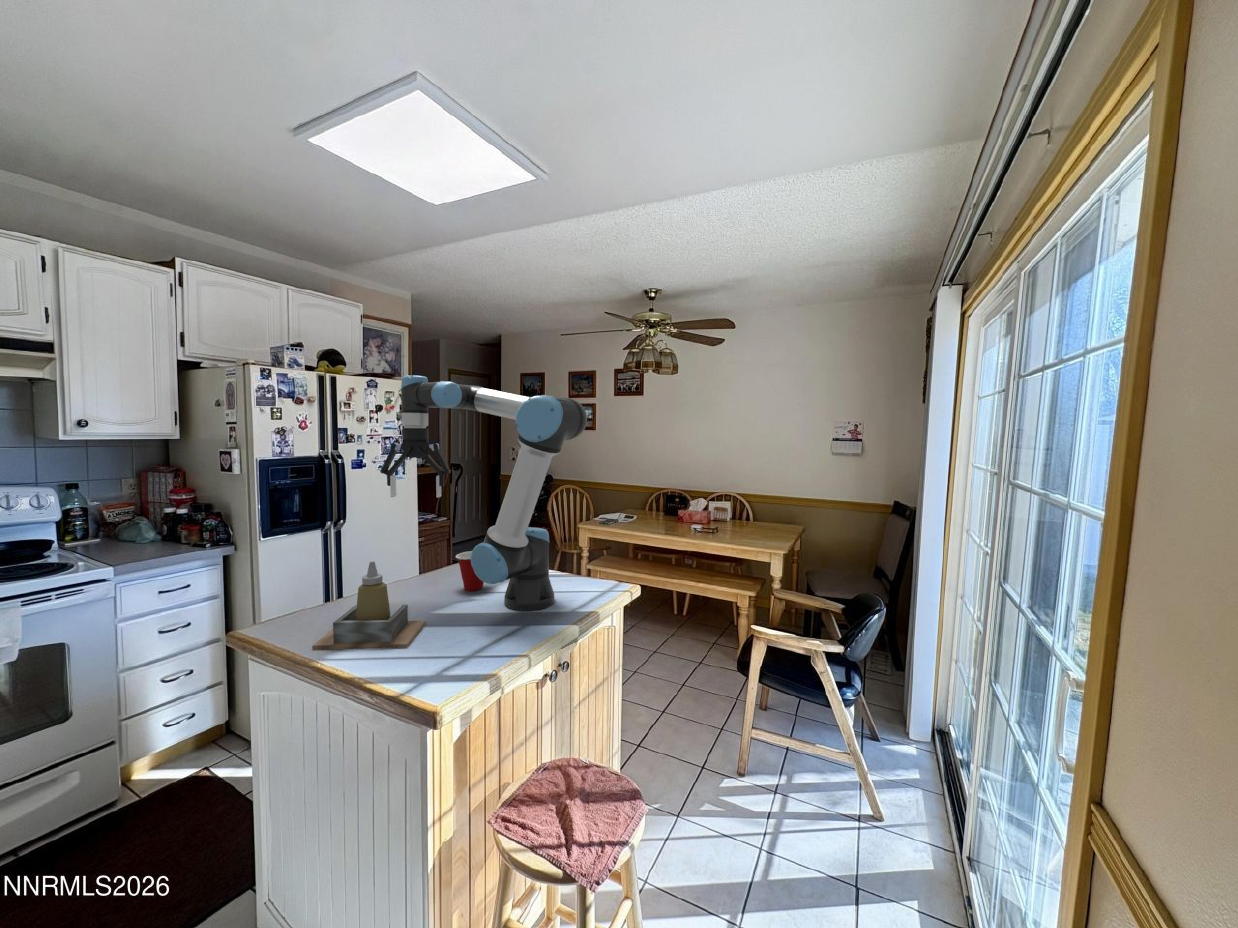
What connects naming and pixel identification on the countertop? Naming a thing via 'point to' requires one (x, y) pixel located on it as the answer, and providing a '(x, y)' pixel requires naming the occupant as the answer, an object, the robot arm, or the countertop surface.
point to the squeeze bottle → (372, 597)
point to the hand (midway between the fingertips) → (416, 496)
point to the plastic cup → (468, 572)
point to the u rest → (371, 632)
